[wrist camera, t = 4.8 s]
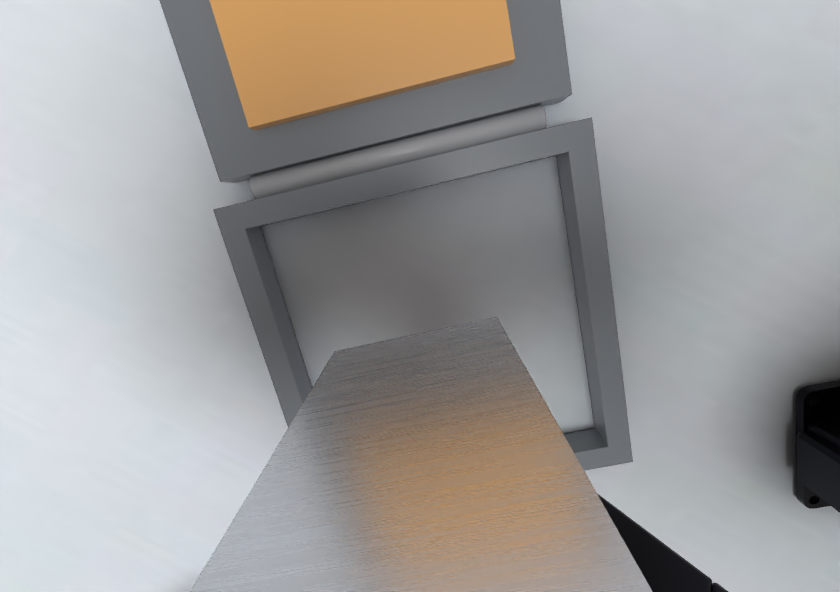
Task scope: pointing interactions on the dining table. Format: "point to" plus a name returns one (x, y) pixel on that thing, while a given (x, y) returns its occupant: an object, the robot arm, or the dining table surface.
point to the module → (424, 483)
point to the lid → (362, 81)
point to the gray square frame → (562, 141)
